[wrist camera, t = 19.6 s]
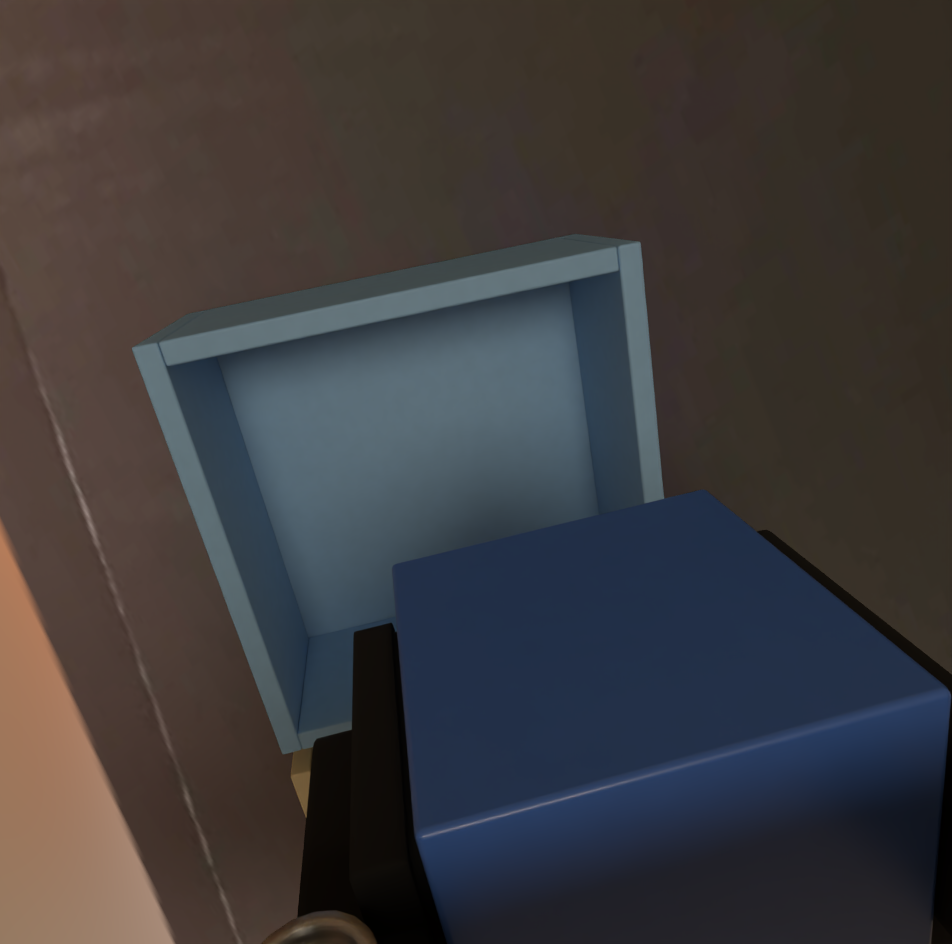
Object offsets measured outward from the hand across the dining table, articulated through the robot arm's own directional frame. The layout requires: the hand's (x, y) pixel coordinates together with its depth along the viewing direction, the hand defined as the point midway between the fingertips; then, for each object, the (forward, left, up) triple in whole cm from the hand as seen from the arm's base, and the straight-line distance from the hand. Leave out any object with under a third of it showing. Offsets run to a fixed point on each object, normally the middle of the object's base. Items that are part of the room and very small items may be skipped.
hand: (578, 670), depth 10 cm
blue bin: (-1, -1, -14) cm, 14 cm away
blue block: (0, 0, 0) cm, 0 cm away
